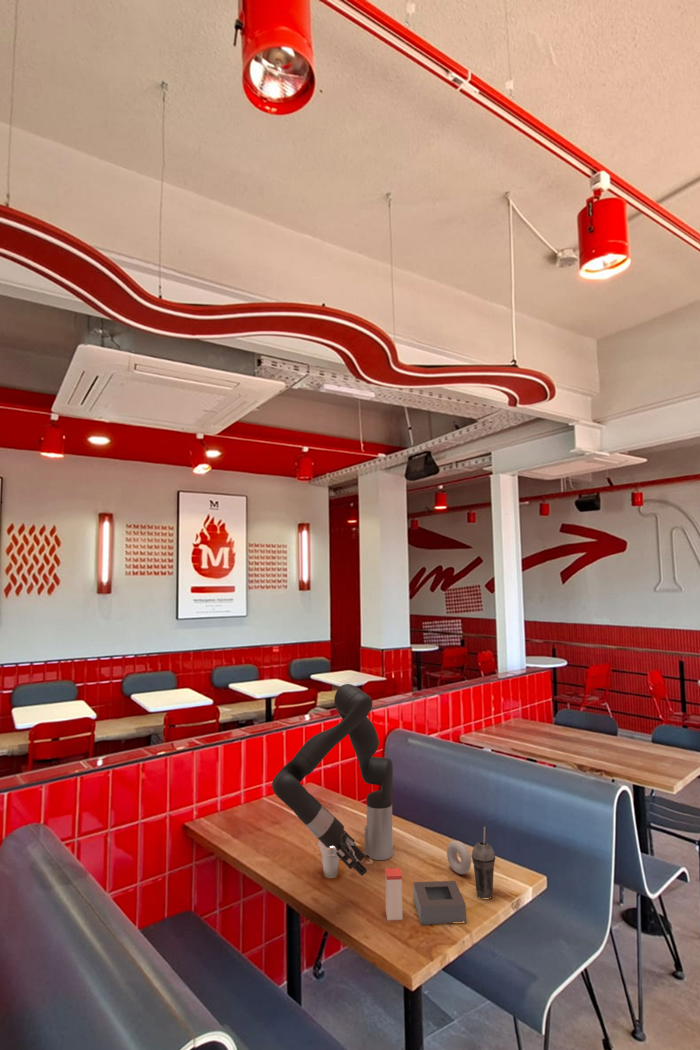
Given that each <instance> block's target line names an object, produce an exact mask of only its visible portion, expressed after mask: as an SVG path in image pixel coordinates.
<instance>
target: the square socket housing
mask: <svg viewBox="0 0 700 1050" xmlns="http://www.w3.org/2000/svg"><path fill="white" fill-rule="evenodd" d="M412 885H413V887H412V888H413V902H414V906H415V909H416V913H417V916H418V919H419V920H418V921H419V922H420V923H419V924H420V925H421V926H424V925H425V926H427V925H428V926H431V924H434V925H444V924H443V923H453V922H463V921H464V922H465V921H466V922H467V907H466V906H467V904H466V902H465V901H464V900H465V899H464V897H463V894H462V893H461V891H460V888H459V887H458V883H457V882H456V880H441V881H440V880H439V881H414V882H413V884H412Z"/></svg>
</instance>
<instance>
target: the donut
mask: <svg viewBox="0 0 700 1050" xmlns="http://www.w3.org/2000/svg"><path fill="white" fill-rule="evenodd" d="M458 855H459V857H460V860H459V858H458ZM471 858H472V856H471V853H470V851H469V849H468V847H467V846H466V845H465V844H464V843H463V842H462V841H460V840H452V841H451V842H449V844H448V846H447V849H446V859H447V861H448V864H449V866H450V868H451V869H452V870H453V871H454V872H455V873H457V874H459V875H466V874H467V873H468V872H469V871H470V870H471V866H472V859H471Z"/></svg>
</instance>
